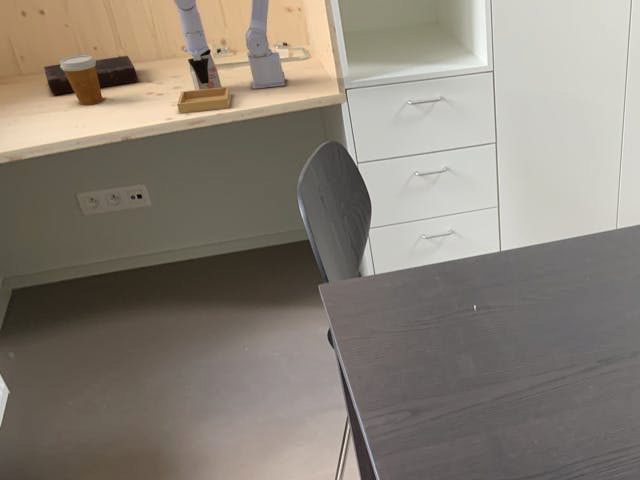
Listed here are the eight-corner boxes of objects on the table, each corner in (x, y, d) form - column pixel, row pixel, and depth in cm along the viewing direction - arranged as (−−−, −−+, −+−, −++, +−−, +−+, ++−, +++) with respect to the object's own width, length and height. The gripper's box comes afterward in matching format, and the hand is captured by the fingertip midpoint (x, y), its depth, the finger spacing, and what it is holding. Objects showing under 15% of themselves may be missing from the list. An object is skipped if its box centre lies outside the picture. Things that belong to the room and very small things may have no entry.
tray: (231, 95, 233) (229, 86, 232) (229, 107, 224) (227, 98, 222) (183, 100, 231) (181, 91, 230) (179, 113, 221) (177, 104, 220)
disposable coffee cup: (74, 99, 236) (59, 57, 228) (108, 94, 238) (94, 53, 231) (73, 108, 228) (57, 65, 221) (108, 103, 231) (94, 60, 224)
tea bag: (195, 92, 237) (186, 57, 231) (216, 87, 240) (208, 53, 234) (201, 95, 235) (191, 60, 229) (222, 89, 238) (213, 55, 232)
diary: (139, 82, 248) (134, 65, 245) (53, 96, 239) (46, 79, 236) (131, 69, 261) (126, 53, 258) (49, 82, 252) (43, 65, 249)
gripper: (181, 27, 232) (194, 74, 240) (176, 38, 221) (190, 87, 229) (206, 24, 234) (217, 72, 242) (202, 36, 222) (215, 85, 230)
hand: (206, 79), depth 235 cm, fingers open, 7 cm apart
